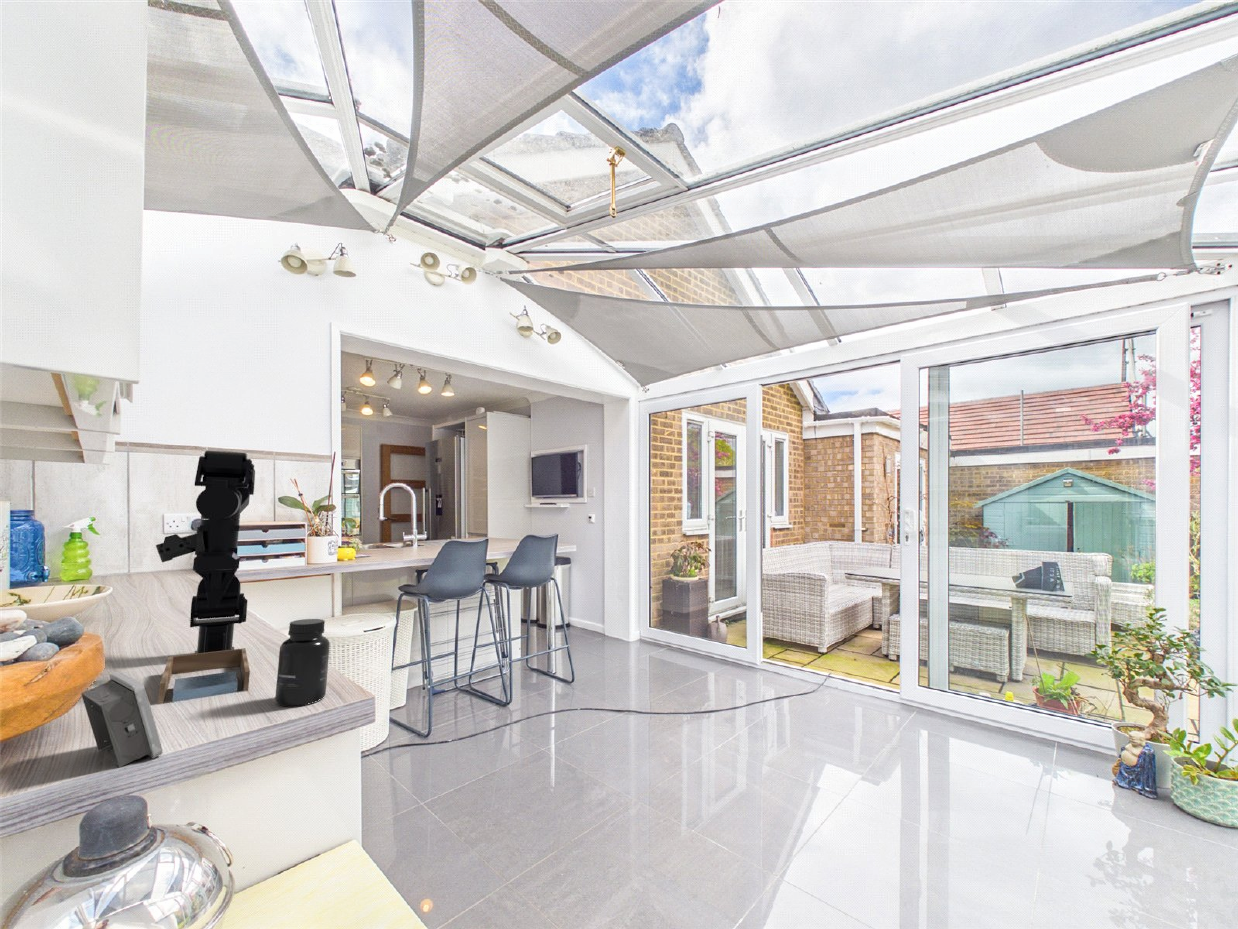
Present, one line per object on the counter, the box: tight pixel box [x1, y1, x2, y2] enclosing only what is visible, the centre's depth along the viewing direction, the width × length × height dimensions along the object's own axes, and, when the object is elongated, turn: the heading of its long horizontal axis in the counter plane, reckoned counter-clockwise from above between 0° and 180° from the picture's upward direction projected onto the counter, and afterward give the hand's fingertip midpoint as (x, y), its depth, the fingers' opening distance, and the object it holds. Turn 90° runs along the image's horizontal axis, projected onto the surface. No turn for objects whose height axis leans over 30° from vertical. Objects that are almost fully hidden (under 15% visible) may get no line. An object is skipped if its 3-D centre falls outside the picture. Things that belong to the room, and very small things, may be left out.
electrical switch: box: [80, 671, 163, 768], centre depth 63 cm, size 9×5×9 cm, turn 57°
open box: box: [157, 647, 251, 705], centre depth 91 cm, size 19×11×3 cm, turn 37°
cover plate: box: [172, 670, 238, 703], centre depth 86 cm, size 8×8×2 cm
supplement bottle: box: [274, 618, 331, 708], centre depth 83 cm, size 7×7×12 cm
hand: (212, 606), depth 95 cm, fingers open, 3 cm apart
